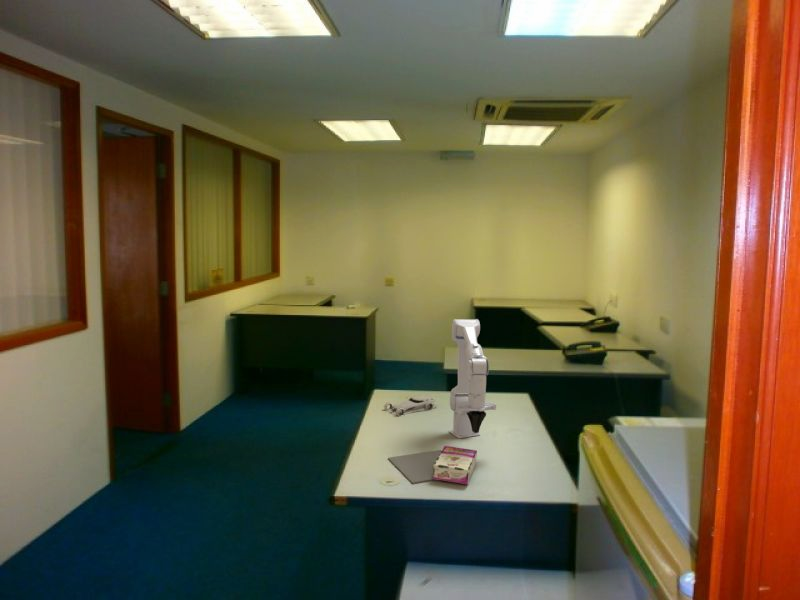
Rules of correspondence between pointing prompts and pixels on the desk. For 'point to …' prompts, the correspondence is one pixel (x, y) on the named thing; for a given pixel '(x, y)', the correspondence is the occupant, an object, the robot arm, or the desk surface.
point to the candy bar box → (455, 465)
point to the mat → (417, 465)
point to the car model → (411, 405)
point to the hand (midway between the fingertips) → (475, 431)
